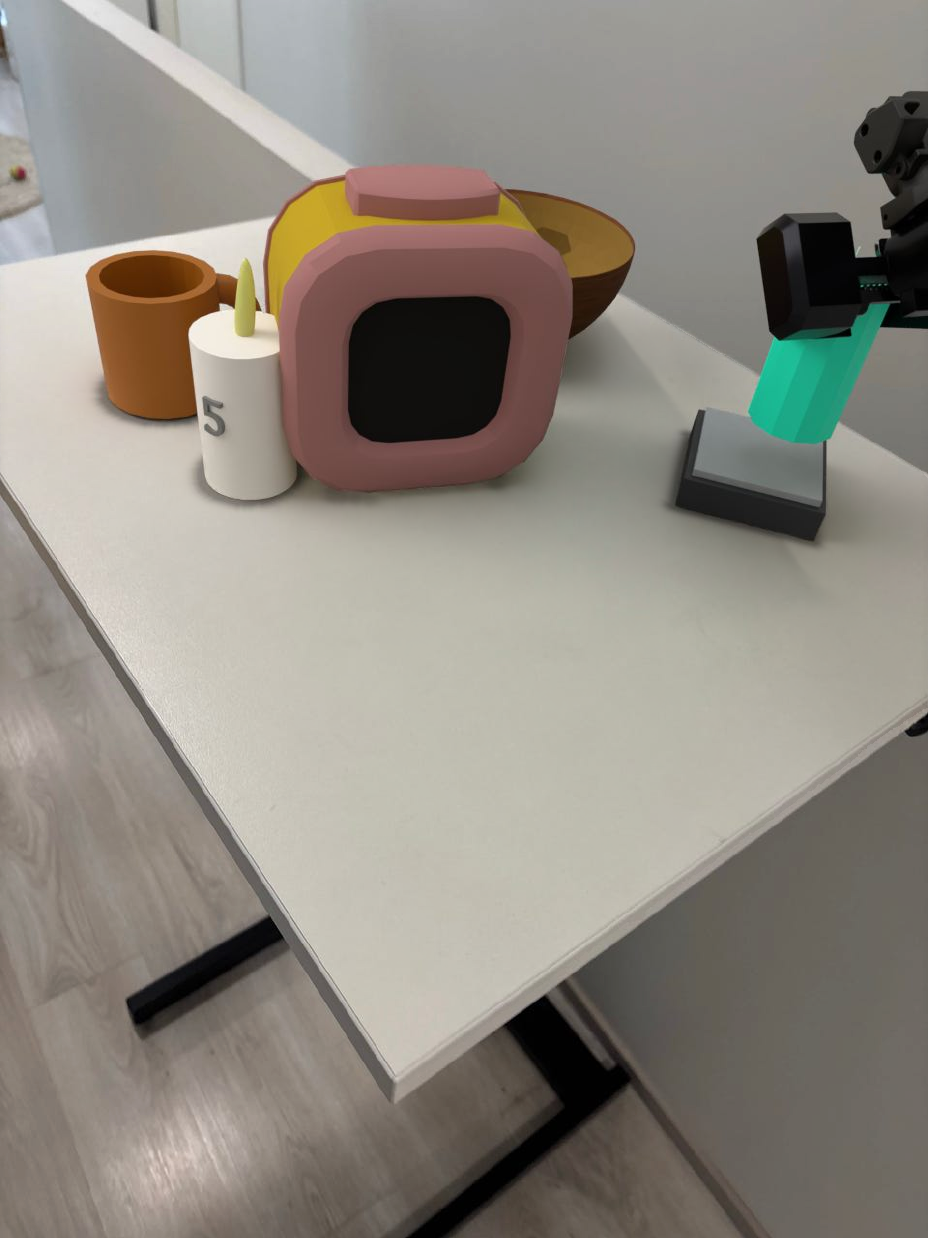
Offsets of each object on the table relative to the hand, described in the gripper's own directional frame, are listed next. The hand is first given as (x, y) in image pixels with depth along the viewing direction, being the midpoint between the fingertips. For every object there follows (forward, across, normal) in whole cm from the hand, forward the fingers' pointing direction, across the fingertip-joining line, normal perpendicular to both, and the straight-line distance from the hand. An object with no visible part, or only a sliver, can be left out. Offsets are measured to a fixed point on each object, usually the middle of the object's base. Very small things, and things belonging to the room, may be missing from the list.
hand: (816, 320), depth 59 cm
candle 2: (+4, 0, +6) cm, 7 cm away
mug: (+24, +39, -4) cm, 46 cm away
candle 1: (+15, +36, +4) cm, 39 cm away
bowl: (+26, +11, -7) cm, 29 cm away
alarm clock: (+16, +24, +3) cm, 29 cm away
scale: (+10, 0, +9) cm, 13 cm away
